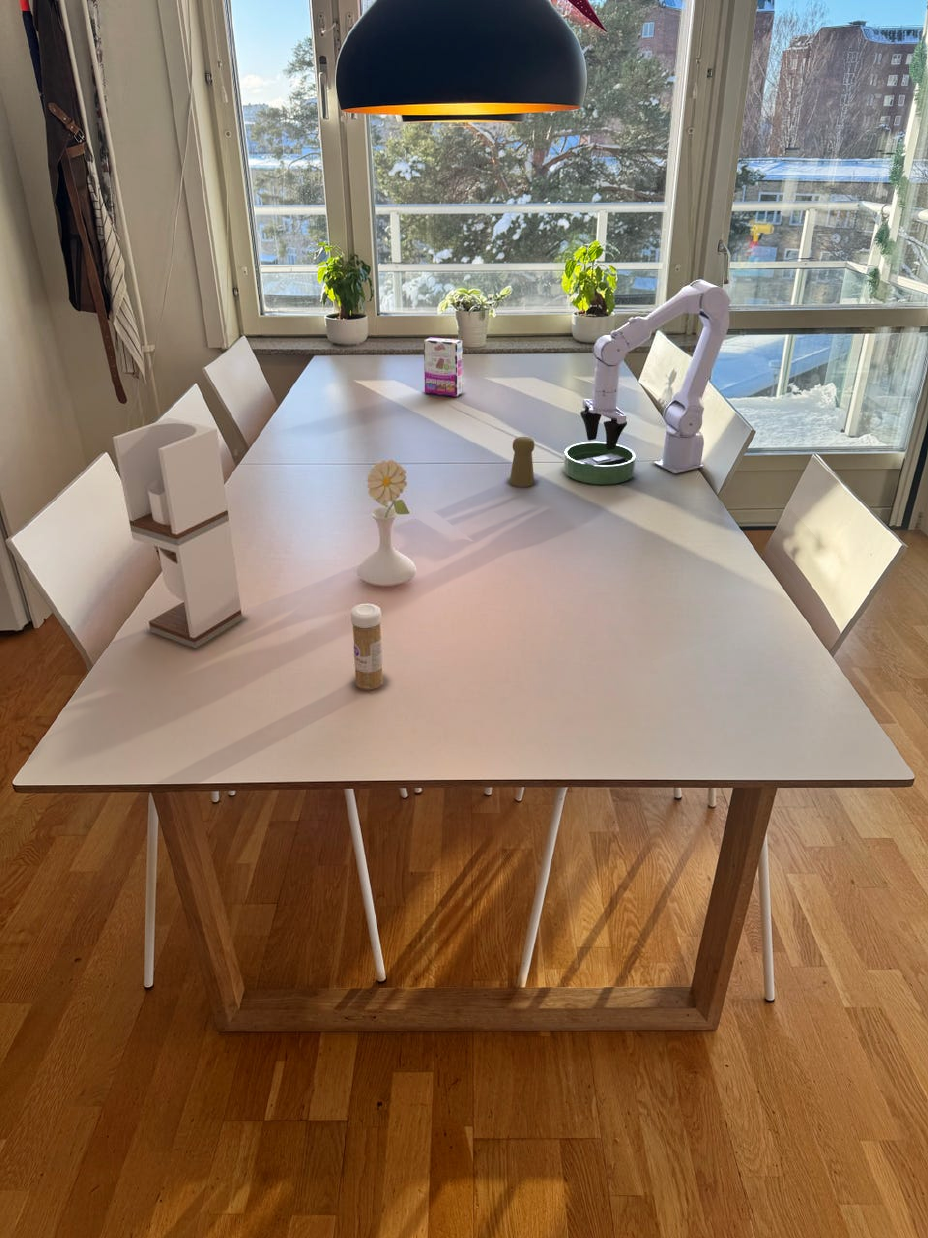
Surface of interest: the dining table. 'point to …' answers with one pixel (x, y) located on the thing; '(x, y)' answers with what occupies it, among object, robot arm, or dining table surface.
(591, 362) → the dining table surface
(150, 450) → the white tiered shelf stand
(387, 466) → the flower in vase
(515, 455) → the cork
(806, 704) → the dining table surface
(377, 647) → the sprinkles bottle
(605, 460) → the remote
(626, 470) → the bowl
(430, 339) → the candy bar box
